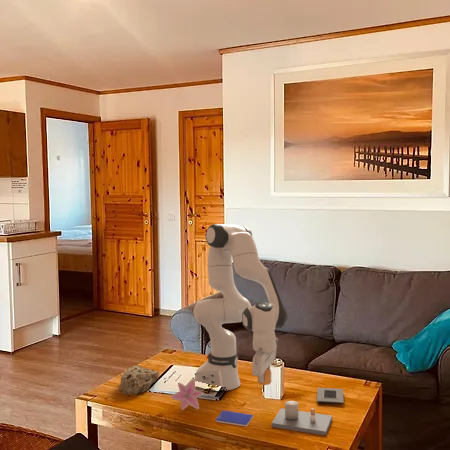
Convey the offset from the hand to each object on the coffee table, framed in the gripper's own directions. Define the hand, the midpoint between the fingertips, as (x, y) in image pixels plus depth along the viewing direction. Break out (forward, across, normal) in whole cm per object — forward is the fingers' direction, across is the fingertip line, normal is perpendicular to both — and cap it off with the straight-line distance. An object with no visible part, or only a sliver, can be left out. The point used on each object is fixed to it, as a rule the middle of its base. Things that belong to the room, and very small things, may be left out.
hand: (264, 378), depth 207 cm
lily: (+14, -7, +30) cm, 34 cm away
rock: (+15, +4, +59) cm, 61 cm away
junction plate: (+12, -7, -17) cm, 22 cm away
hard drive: (+14, -12, +8) cm, 20 cm away
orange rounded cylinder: (+2, 0, 0) cm, 2 cm away
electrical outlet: (+14, +18, -23) cm, 32 cm away
